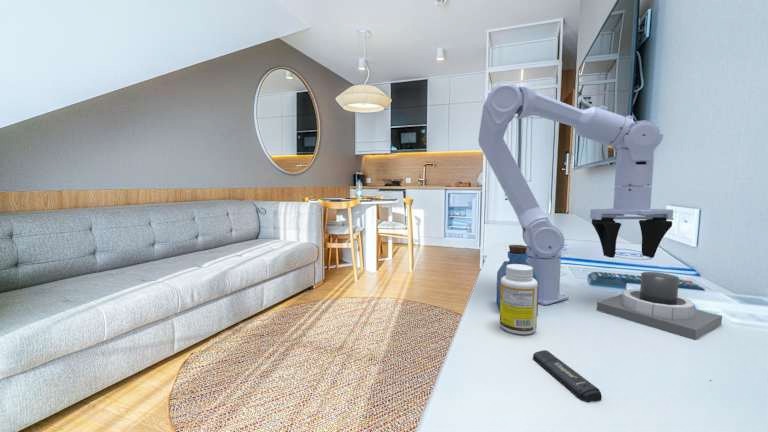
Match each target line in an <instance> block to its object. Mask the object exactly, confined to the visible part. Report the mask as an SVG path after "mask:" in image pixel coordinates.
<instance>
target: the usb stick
mask: <svg viewBox="0 0 768 432" xmlns="http://www.w3.org/2000/svg"><path fill="white" fill-rule="evenodd" d="M532 355H533V356H532V359H533V360H534V361H535V362H536V363H538V365H540V366H541V368H543V369H544V370H546V372H548V373H549V374H550V375H552V376H553V377H554V378H555V379H556V380H557V381H558V382H559V383H561V384H562V385H563V386H564V387H565V388H567V389H568V390H569V391H570V392H571V393H573V394H574V395H575V396H576V397H577V398H578V399H580V400H581V401H585V402H587V403H593V402H600V401H602V399H603V397H602V392H601V391H600V388H598V387H596V386H595V385H594V384H592V383H591V382H590V381H588V380H587V379H586V378H585V377H583V376H582V375H581V374H579V373H578V372H576V371H575V370H574V369H572V367H570V366H569V365H567V364H566V363H565V362H563V361H562V360H561V359H559V358H558V357H557V356H555V355H554V354H552V353H551V352H550V351H549V350H545V349H544V350H543V349H542V350H539V351H536V352H534V353H533V354H532Z"/></svg>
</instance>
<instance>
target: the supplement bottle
mask: <svg viewBox="0 0 768 432" xmlns="http://www.w3.org/2000/svg"><path fill="white" fill-rule="evenodd" d="M537 298H538V282H537V281H536V280H535V279H534V278H533V268H532V267H531V266H528V265H522V264H509V265H507V266H506V276H504V277H502V278H501V289H500V310H499V325H500V327H501V328H502V329H503V330H504V331H506V332H509V333H512V334H515V335H525V336H526V335H532V334H533V333H535V332H536V330H537V319H538V317H537Z"/></svg>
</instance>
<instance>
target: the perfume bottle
mask: <svg viewBox="0 0 768 432" xmlns="http://www.w3.org/2000/svg"><path fill="white" fill-rule="evenodd" d="M508 248H509V251H507V258H508V261H507V260H504V261H503V263H502V264H501V266H499V269H498V270H497V272H496V276H497V277H496V297H495V298H496V302H495V303H496V305H497V308H498V310H499V311H500V289H501V278H502V277H504V276H506V266H507V265H509V264H522V265H528V266H530V265H529V264H528V263H527V262H526V259H528V253H526V249H527V245H522V244H510V245H508ZM533 278H534V279H535V280H536V281H537V282H538V280H537V278H536V276H535V274H534V272H533ZM538 292H539V282H538ZM538 313H539V303H538V298H537V318H538V315H539V314H538Z"/></svg>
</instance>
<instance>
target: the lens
mask: <svg viewBox="0 0 768 432" xmlns="http://www.w3.org/2000/svg"><path fill="white" fill-rule="evenodd" d="M679 280H680V278H679V277H678V276H676V275H673V274H669V273H665V272H664V273H663V272H657V271H655V272H654V271H642V272H641V274H640V287H639V289H640V300H644V301H648V302H652V303H658V304H665V305H677V296H679V295H678V292H679Z"/></svg>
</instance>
